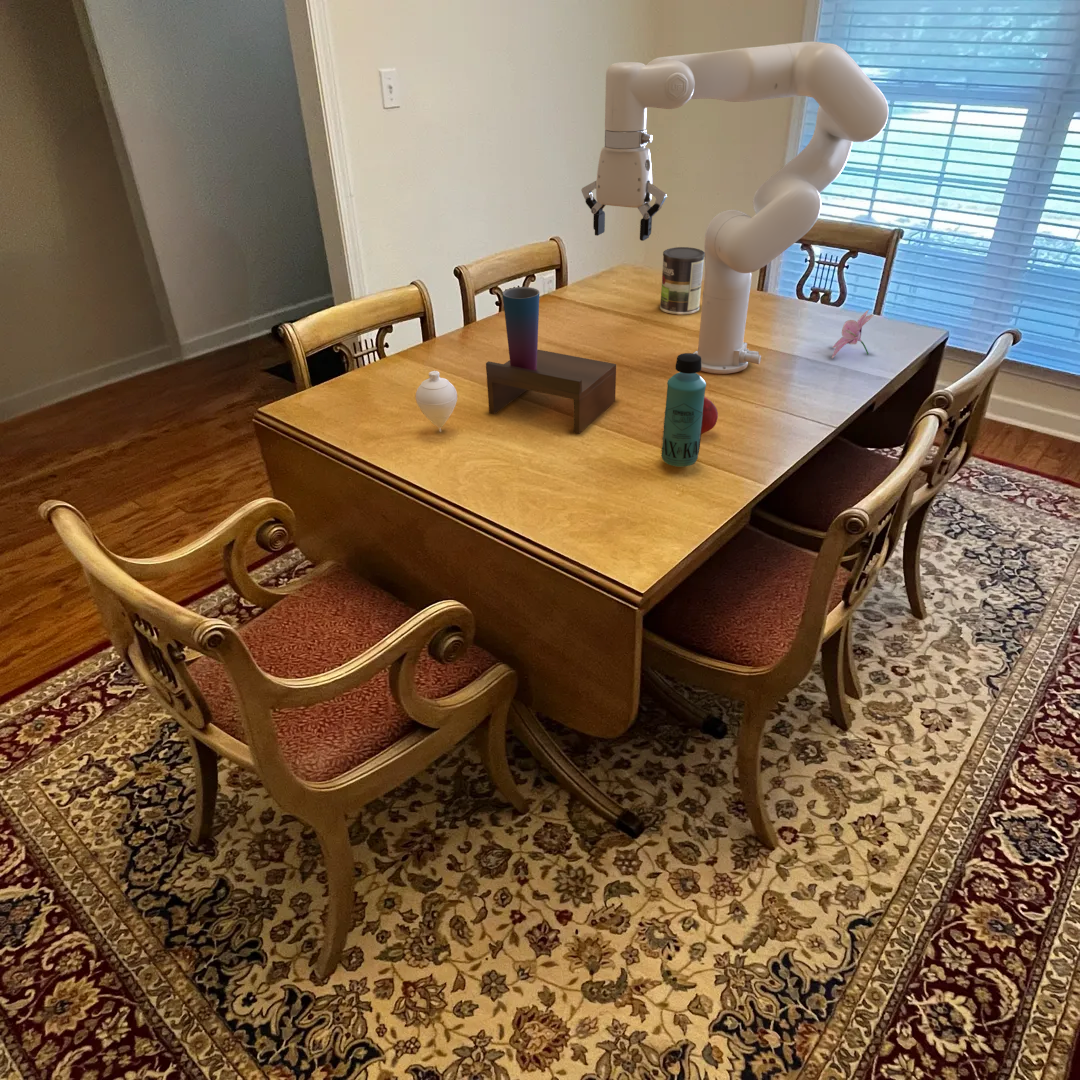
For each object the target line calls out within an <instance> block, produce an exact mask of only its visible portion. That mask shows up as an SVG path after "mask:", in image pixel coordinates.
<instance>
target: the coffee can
mask: <svg viewBox="0 0 1080 1080" xmlns="http://www.w3.org/2000/svg"><path fill="white" fill-rule="evenodd" d="M662 257H663V258H662V273H661V275H662V276H661V289H660V303H659V309H660V310H661V311H662V312H663V313H667V314H671V315H681V316H684V315H691V314H695V313H698V312H699V311H700V305H701V304H700V303H701V294H702V284H703V283H702V282H703V273H704V264H705V250H702V249H700V248H697V247H696V248H695V247H689V246H678V247H677V246H675V247H671V248H667V249H665V250H664V251H663V252H662Z"/></svg>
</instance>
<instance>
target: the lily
mask: <svg viewBox="0 0 1080 1080" xmlns="http://www.w3.org/2000/svg"><path fill="white" fill-rule="evenodd" d="M869 310H870V309H867V310H866V311H865V312H864V313H863V314H862V315H861V316H860V317H858V319H857V321H856V320H855V319H848V320H846V321H845V322H844V324H843V326H842V327H841V328H842V329H841V336H842V337H840V338H839V339H838V340H837V341H836V342H835V343H834V344H833V345H832V347H831V349H834V350H833V352H832V355H831V359H833V358H835V356H836V355H837V354H838V353H839V352H840V351H841V350H842V349H843V348H844V347H845V346H846V345H857V344H858V342H860V343H861V344H862V346H863V347H864V350H865V352H866V354H867V355H869V351H868V349H867V346H866V345H865V343H864V341H863V340H862V330H863V327H864V325H866V324H867V323H868V322H869V321H870V320H871V319H872V318H874V314H869V315H868V312H869Z"/></svg>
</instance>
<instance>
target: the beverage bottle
mask: <svg viewBox="0 0 1080 1080" xmlns="http://www.w3.org/2000/svg"><path fill="white" fill-rule="evenodd" d="M693 353H694V352H687V353H686V352H685V353H680V354H679V355H677V356H676V362H675V368H674V369H675V370H676V371H677V372H676V373H675V374H673V375H671V377H670V378H668V379H667V382H666V384H667V386H666V387H667V389H666V397H665V398H666V399H665V409H664V417H663V421H662V422H663V429H662V434H661V435H662V437H661V440H662V442H661V449H660V454H661V459H662V461H663V462H664V463H665V464H667V465H669V466H673V467H679V468H680V467H681V468H683V467H689V466H692V465H694V464H695V463H696V462H697V460H698V458H699V455H700V449H701V448H700V447H701V441H702V439H701V438H702V434H701V431H702V430H701V429H702V428H701V425H702V424H703V423H702V416H704V415H703V405H704V396H705V394H706V387H707V382H706V381H705V379H704V378H703V377H702V376H701V375H700V374H698V373H700V372H702V371H701V367H702V365H701V357H700V356H699V355H697V354H693ZM705 397H706V396H705ZM700 434H701V435H700Z"/></svg>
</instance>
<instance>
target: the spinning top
mask: <svg viewBox="0 0 1080 1080" xmlns="http://www.w3.org/2000/svg"><path fill="white" fill-rule="evenodd" d="M428 377H429V378H426V379H424V380H423V381H421V383H420V385H418V387H417V389H416V392H415V402H416V405H417V406H418V408H419V409H420V411H421V413H422V414H423V415H424V416H425V417H426V418H427V419H428V421H430V422H431V424H433V425H434V426H435V427H436V428H438V432H439V433H442V428H443V427H444V426H445V424H446V423H447V421H448V420H449V419H450V417H451V415H452V414H453V412H454V410H455V408H456V405H457V402H458V392H457V389H456V387H455V386H454V384H452V383H451V382H450V380H449V379H446V378H445V377H440V372H439V371H438V370H431V371H429V372H428Z"/></svg>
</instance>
